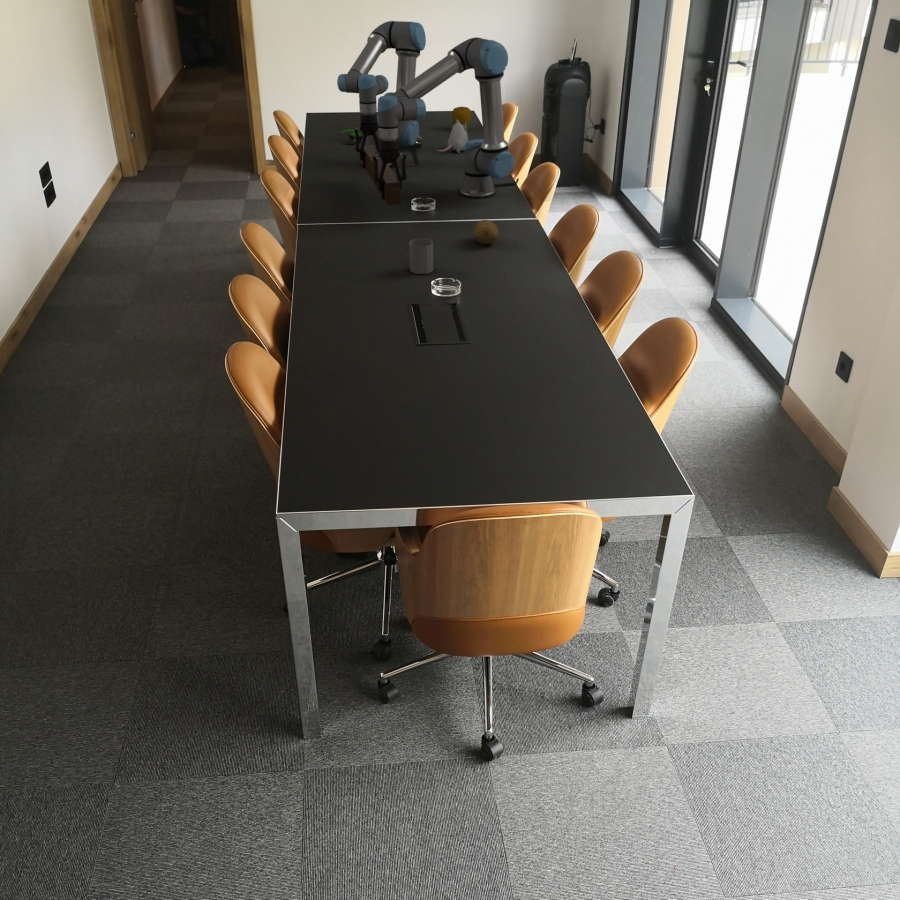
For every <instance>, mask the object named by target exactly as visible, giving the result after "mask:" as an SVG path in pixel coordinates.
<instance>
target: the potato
mask: <svg viewBox="0 0 900 900" xmlns="http://www.w3.org/2000/svg"><path fill="white" fill-rule="evenodd" d="M472 232H473V233H472V234H473V238H474V239H475V241H477V242H478V243H479V244H482V245H490V244H491V243H493V242H495V241H496V240H497V238H498V235H499V228H498V226H497V225H496V224H495V223H494V222H492V221H491V220H490V219H481V220H480V221H478V222H477V223H476V224H475V225H474V228H473V231H472Z"/></svg>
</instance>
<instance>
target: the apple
mask: <svg viewBox="0 0 900 900" xmlns="http://www.w3.org/2000/svg"><path fill="white" fill-rule="evenodd" d="M456 120H458V121H459V122H460V124H461V125H464V126H465V123H466V124H467V129H468V128H469V126H470V124H471V121H472V111H471V108H469V107H467V106H462V105H461V106H457V107H454V108H452V111H451V121H452V126H454V124H456Z"/></svg>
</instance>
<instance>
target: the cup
mask: <svg viewBox="0 0 900 900" xmlns="http://www.w3.org/2000/svg"><path fill="white" fill-rule="evenodd" d="M408 253H409V272H411V273H412V274H416V275H426V274H430V273H432V272H434V241H433V240H431V239H428V238H422V237H421V238H420V237H419V238H414V239H411V240H410V241H409V242H408Z"/></svg>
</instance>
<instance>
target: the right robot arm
mask: <svg viewBox="0 0 900 900" xmlns="http://www.w3.org/2000/svg"><path fill="white" fill-rule="evenodd" d="M508 54H509V53H508V51H507V49H506V47H505V46H504V45H503V44H502V43H501V42H498V41H496V40H493V39H487V38H482V37H478V36H477V37H471V38H468V39H466V40H464V41H462V42H461V43H459V44H457V45H455V46H454V47H452V48H451V49H450V50H448V51H447V55H446V56H444V57H443V58H442V59H440V60H439V61H437V62H436V63H435V64H433V65H431V66H430V67H429V68H427V69H426V70H424V71H423V72H422V73H419V75H417V76H415V78H414V79H413V80H412V81H410V82H409V83H407V84H406V85H404V86H403V87H402V88H400V89H399V90H397V91H396V90H395V91H394V92H390V91H389V92H385V94H383V95H381V96H379V97H378V99H377V115H378V122H379V138H380V140H379V153H378V154H377V155H372V158H373V161H374V180H375V182H378V185H379V190H380V191H381V194H380V196H381V199H382V200H383V201H385V200H384V199H385V196H384V182H383V181H382V180H383V176H384V172H385V168H386V165H387V164H389V163H393V165H392V166H393V167H394V168H393V169H394V172H395V174H396V177H397V179H398V180H399V181H400V191H401V190H403V181H406V180H407V166H406V165H407V164H406V161H407V154H406V153H405V152H403V153H402V152H400V149H399V147H400V146H398V139H397V138H398V122H400V121H408V120H415V121H418V120H421V119H424V118H425V116H426V114H427V106H426V103H425V100H424V99H423V98H424V96H426V95H428V93H429V94H430V92H432V91H433V90H435V89H436V88H437V87H440V86H441V85H442V84H444V82H446V81H448V80H449V79H450V78H452V77H453V76H454V75H456V74H463V73H464V72H465V71H467V70H472V69H473V71H474V80H476V81H477V82H478V83H479V96H480V110H481V122H482V133H483V135H482V136H483V138H477V139H470V140H468V141H467V142H466V143H465V150H464V151H463V152H464V175H463V179H462V182H461V184H460V185H461V186H460V188H459V194H460V195H461V196H463V197H466V198H471V199H484V198H489V197H492V196H494V195H495V187H502V186H504V187H505V186H513V185H517V184H518V183H519V180H520V179H519V178H516V180H515V181H513V182H505V183H504V182H503V183H493V180H492V178H493V179H497V180H503V179H505V178H507V177H508V176H509V175H510V174H511V172H513V169H514V167H515V158H514V156H513V154H512V153H511V152H510V151H509V143H508V141H507V140H505V130H504V129H505V128H504V115H503V101H502V86H501V80H502V79H503V78H504V75H505V70H506V67H507V66H508V63H509V55H508ZM379 157H380V158H381V159H382V166H381V170H380V174H379V178H378V162H377V161H378V158H379ZM398 158H399V159H400V164H401V165H400V166H401V171H400V168H399V166H398V162H397V160H398ZM379 190H378V191H379Z"/></svg>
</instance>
